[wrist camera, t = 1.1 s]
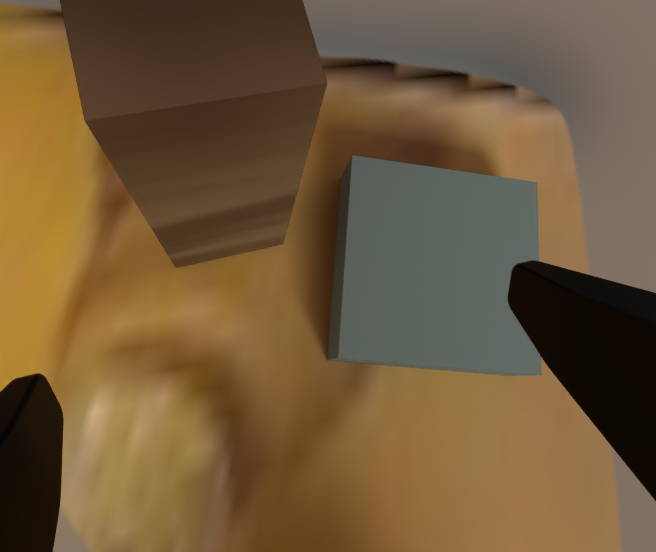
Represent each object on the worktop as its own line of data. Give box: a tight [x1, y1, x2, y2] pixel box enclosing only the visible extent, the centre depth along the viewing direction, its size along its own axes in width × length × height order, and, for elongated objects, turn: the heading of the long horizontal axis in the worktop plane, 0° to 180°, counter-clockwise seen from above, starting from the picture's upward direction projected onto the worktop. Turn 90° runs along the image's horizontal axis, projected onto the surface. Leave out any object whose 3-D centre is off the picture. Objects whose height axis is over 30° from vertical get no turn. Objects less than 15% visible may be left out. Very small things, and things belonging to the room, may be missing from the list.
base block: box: [327, 155, 541, 376], centre depth 23 cm, size 9×9×3 cm
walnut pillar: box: [60, 0, 327, 268], centre depth 17 cm, size 5×5×13 cm
